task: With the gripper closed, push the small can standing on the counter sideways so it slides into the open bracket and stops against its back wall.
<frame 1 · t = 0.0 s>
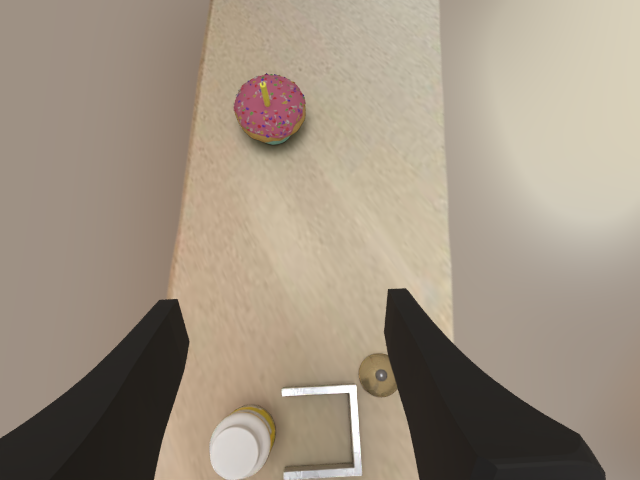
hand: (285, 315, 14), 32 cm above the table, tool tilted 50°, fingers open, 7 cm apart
gold disc: (379, 374, 44), on the table
supplement bottle: (251, 431, 43), on the table
bracket: (317, 427, 43), on the table
cupcake: (273, 128, 53), on the table
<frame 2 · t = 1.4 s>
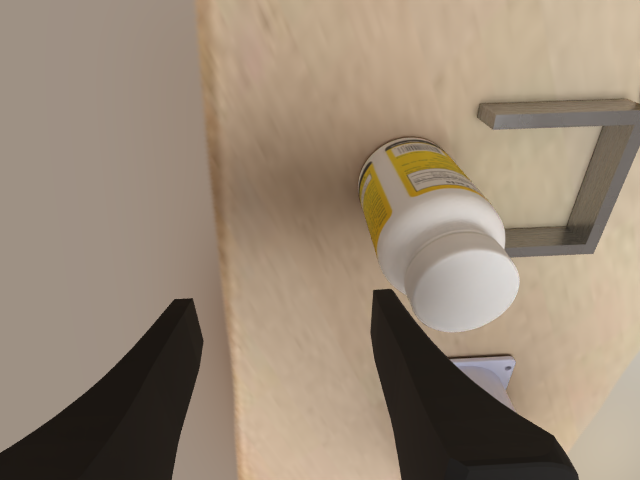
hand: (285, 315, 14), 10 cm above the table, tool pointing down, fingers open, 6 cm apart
supplement bottle: (403, 179, 23), on the table
bracket: (525, 176, 23), on the table
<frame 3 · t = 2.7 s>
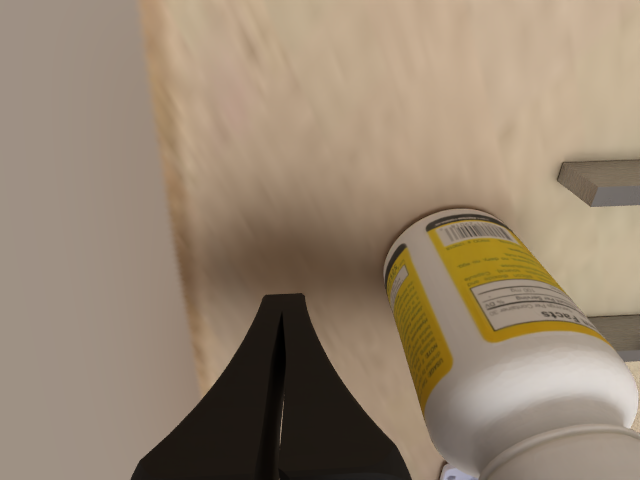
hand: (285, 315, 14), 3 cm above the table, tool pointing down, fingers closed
supplement bottle: (445, 259, 17), on the table
bracket: (615, 255, 17), on the table
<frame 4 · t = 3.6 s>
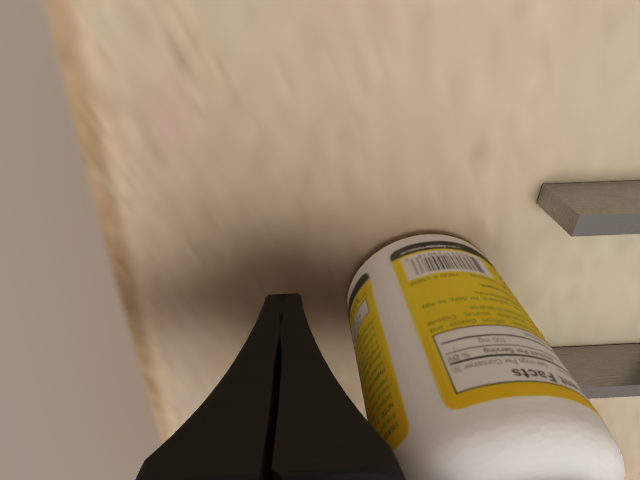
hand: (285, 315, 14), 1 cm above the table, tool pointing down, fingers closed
supplement bottle: (416, 287, 15), on the table, touching gripper
bracket: (602, 282, 15), on the table
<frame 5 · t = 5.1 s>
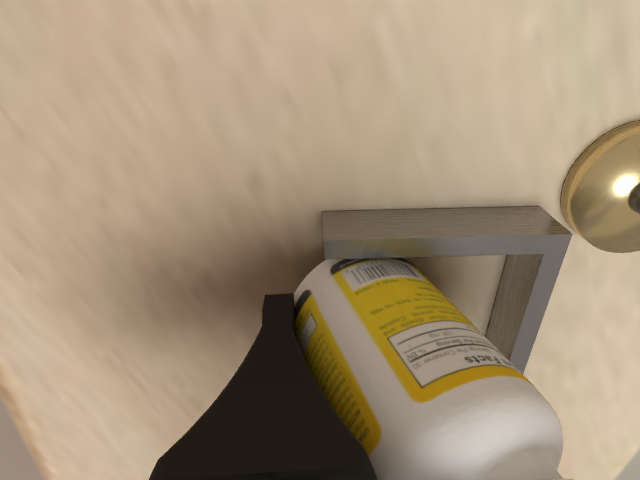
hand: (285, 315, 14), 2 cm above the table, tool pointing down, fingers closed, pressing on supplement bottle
gold disc: (626, 183, 14), on the table
supplement bottle: (351, 300, 16), on the table, touching gripper
bracket: (409, 302, 16), on the table
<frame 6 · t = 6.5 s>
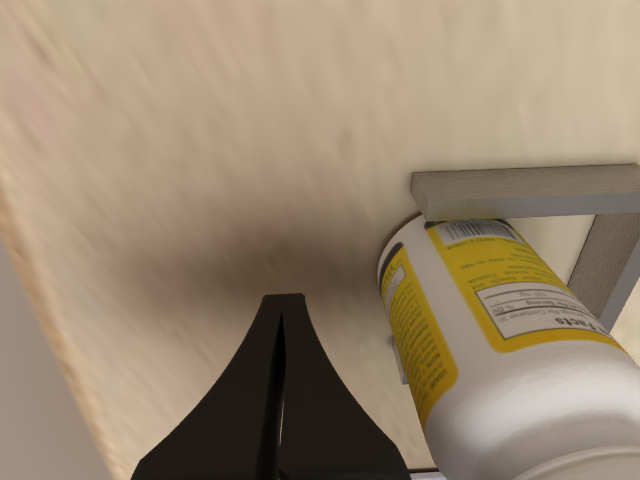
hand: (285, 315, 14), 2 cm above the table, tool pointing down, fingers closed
supplement bottle: (443, 259, 16), on the table
bracket: (489, 268, 16), on the table
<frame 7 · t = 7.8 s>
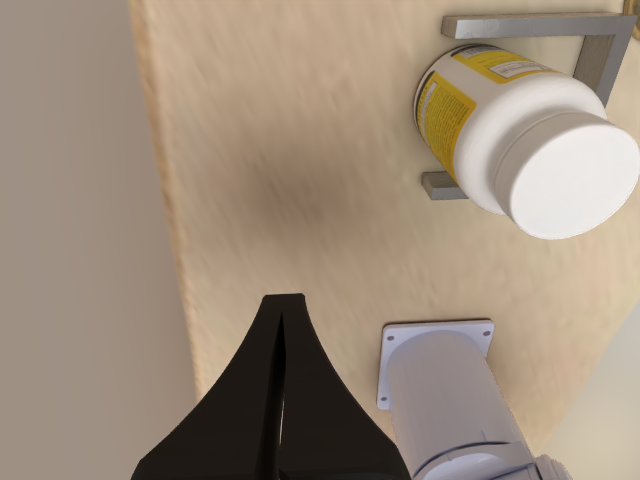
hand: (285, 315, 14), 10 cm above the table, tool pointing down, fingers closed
supplement bottle: (463, 99, 21), on the table
bracket: (498, 107, 21), on the table
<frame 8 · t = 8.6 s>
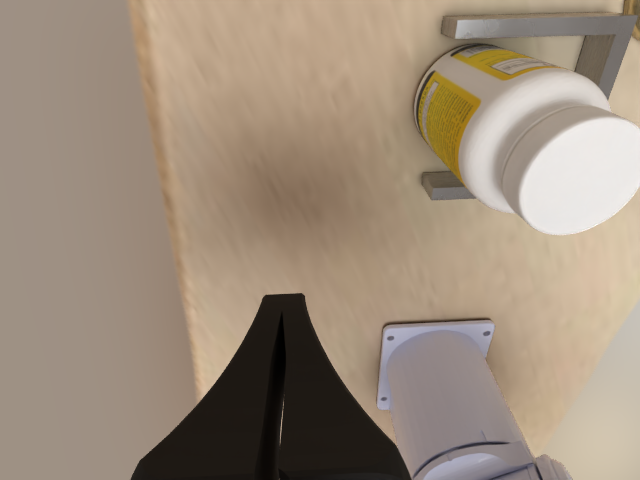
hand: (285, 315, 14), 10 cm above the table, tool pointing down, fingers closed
supplement bottle: (463, 99, 21), on the table
bracket: (498, 107, 21), on the table
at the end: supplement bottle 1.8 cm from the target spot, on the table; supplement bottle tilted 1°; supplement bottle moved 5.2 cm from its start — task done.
